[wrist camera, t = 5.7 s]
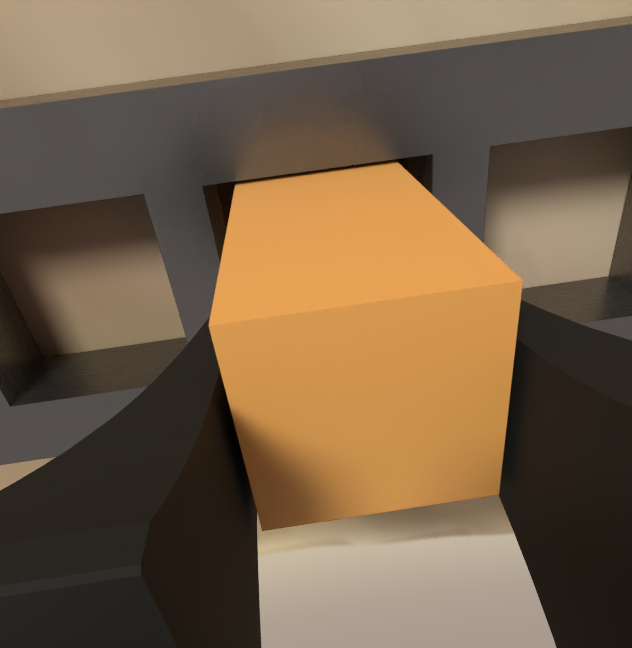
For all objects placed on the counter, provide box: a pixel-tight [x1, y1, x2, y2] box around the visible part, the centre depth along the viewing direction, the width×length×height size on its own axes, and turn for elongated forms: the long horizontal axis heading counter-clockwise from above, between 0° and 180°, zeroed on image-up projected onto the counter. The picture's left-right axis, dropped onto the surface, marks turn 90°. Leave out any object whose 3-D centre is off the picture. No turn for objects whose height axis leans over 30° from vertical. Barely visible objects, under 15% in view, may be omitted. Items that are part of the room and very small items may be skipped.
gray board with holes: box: [0, 16, 632, 465], centre depth 14 cm, size 24×10×2 cm, turn 97°
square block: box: [209, 160, 523, 531], centre depth 10 cm, size 4×4×7 cm
